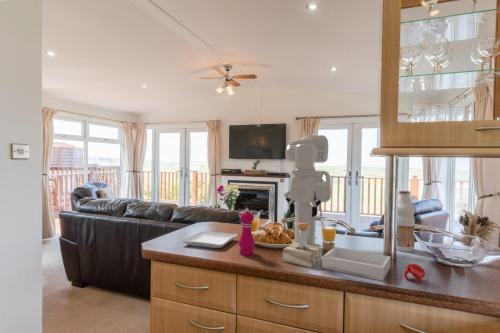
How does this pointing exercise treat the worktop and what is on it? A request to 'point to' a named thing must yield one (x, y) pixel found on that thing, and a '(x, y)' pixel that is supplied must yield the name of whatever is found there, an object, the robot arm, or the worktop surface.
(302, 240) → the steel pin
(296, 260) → the pin block
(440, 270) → the worktop surface
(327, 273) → the worktop surface
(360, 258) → the tray
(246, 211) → the pepper mill
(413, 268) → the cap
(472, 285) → the worktop surface
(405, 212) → the fruit juice
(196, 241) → the salad plate
